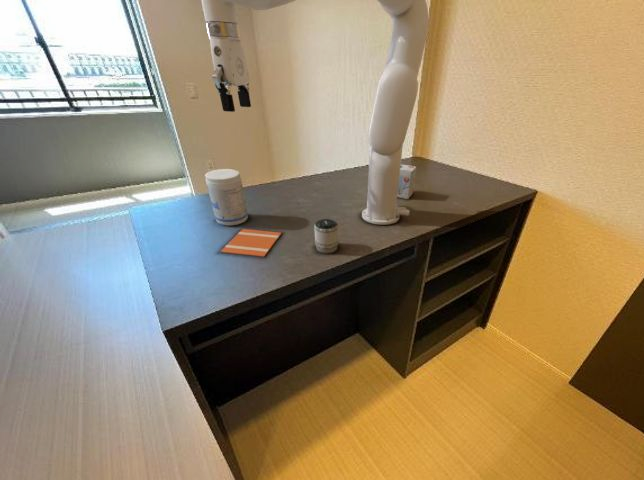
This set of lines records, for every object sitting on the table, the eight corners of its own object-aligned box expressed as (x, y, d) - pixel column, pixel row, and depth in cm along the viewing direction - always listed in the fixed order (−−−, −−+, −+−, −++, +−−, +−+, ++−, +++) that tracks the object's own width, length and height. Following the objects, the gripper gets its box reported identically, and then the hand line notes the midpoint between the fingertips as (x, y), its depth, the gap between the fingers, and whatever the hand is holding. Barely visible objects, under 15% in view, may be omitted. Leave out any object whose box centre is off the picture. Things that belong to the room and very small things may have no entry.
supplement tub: (210, 219, 94) (197, 173, 85) (237, 210, 100) (228, 166, 91) (227, 230, 89) (215, 181, 80) (254, 219, 95) (246, 173, 86)
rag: (281, 233, 88) (281, 232, 88) (264, 257, 78) (264, 255, 78) (243, 229, 89) (242, 228, 89) (220, 252, 79) (220, 251, 79)
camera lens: (318, 255, 79) (317, 229, 75) (312, 244, 84) (311, 218, 79) (341, 251, 81) (341, 225, 77) (334, 240, 86) (333, 215, 81)
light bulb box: (382, 194, 116) (384, 166, 110) (387, 189, 121) (389, 162, 115) (408, 199, 113) (412, 171, 107) (413, 193, 118) (416, 166, 112)
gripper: (219, 30, 68) (235, 114, 78) (253, 35, 82) (262, 105, 92) (189, 29, 69) (208, 112, 79) (227, 34, 83) (239, 104, 93)
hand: (237, 108), depth 85 cm, fingers open, 9 cm apart
